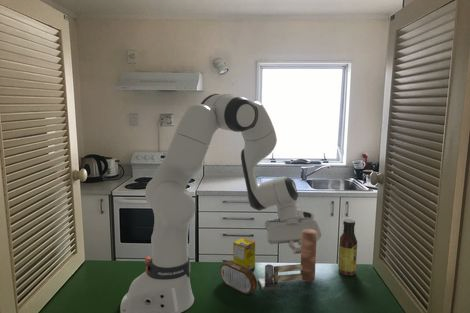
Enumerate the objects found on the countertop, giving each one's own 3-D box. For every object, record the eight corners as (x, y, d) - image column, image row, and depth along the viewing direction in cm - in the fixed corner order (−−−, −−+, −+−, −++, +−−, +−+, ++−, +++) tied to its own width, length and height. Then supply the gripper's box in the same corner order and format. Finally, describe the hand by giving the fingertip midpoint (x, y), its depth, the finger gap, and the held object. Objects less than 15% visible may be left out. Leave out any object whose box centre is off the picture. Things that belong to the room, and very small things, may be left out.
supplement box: (255, 268, 131) (255, 241, 129) (245, 274, 127) (245, 246, 125) (243, 263, 135) (243, 237, 133) (233, 269, 130) (233, 242, 129)
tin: (257, 295, 113) (257, 271, 112) (251, 299, 111) (251, 274, 110) (224, 279, 124) (224, 257, 122) (218, 282, 121) (218, 260, 120)
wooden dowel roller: (276, 284, 117) (277, 236, 114) (271, 277, 122) (272, 231, 119) (317, 280, 119) (319, 234, 117) (311, 273, 124) (313, 228, 122)
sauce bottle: (356, 277, 125) (360, 224, 122) (338, 275, 126) (341, 223, 123) (354, 269, 131) (357, 218, 128) (337, 267, 132) (339, 217, 129)
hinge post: (262, 290, 116) (262, 271, 115) (258, 281, 122) (258, 263, 121) (279, 289, 117) (280, 269, 116) (274, 280, 123) (275, 261, 122)
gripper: (265, 216, 129) (272, 252, 121) (317, 213, 132) (327, 248, 124) (262, 223, 134) (268, 258, 126) (312, 220, 137) (321, 254, 130)
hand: (298, 253), depth 125 cm, fingers closed
